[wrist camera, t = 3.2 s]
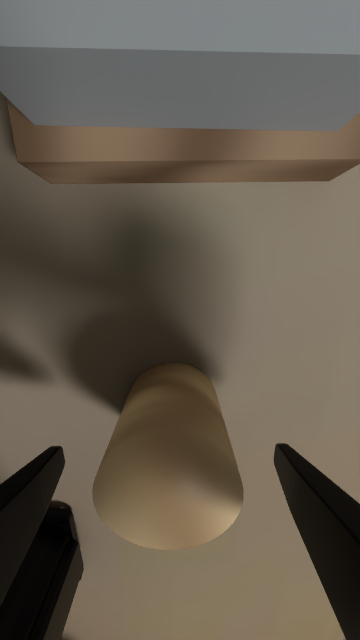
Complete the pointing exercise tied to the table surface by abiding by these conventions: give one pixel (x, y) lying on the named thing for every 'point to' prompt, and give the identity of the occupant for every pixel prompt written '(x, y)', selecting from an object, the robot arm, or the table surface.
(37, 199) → the table surface
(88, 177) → the tower base block
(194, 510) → the tan rounded piece
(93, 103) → the tower top block
